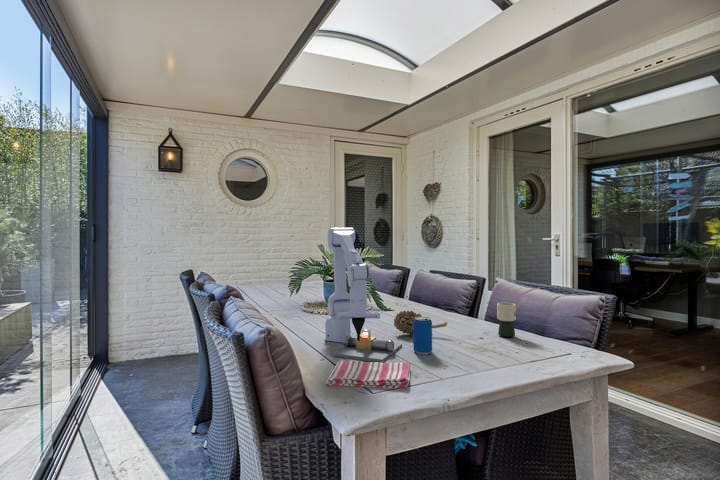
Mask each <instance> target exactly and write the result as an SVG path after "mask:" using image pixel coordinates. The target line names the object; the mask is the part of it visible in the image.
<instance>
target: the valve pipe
mask: <svg viewBox="0 0 720 480" xmlns="http://www.w3.org/2000/svg"><path fill="white" fill-rule="evenodd" d="M351 336H352V335H351ZM351 336H347V337H346V338H345V340H344V344H343V345H344V347H345V346H346V347H349V346H351V347H356V349H360V350H369V351H371V350H373V349H377V350H385V351H387V352H391V351H393V350H394V343H395V342H394V341H393V340H392V339H388V340H379V339H377V337H375V336H371V337H370V338H369V342H368V345H360V341H357V337H355V338H352V337H353V336H352V337H351Z"/></svg>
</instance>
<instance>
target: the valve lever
mask: <svg viewBox="0 0 720 480" xmlns="http://www.w3.org/2000/svg"><path fill="white" fill-rule="evenodd" d="M371 332H372V330H371V329H370V328H362V330H361V333H360V345H368V342H369V338H370V337H372V336H371V335H372V333H371Z"/></svg>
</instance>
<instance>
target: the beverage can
mask: <svg viewBox="0 0 720 480" xmlns="http://www.w3.org/2000/svg"><path fill="white" fill-rule="evenodd" d="M431 319H432V318H431V317H429V316H422V317H415V320H414V321H413V334H412V335H413V351H414V352H415V353H416V354H418V355H428V354H430V353H431V352H433V328H432V325H433V321H432V320H431Z"/></svg>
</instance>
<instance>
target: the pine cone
mask: <svg viewBox="0 0 720 480" xmlns="http://www.w3.org/2000/svg"><path fill="white" fill-rule="evenodd" d="M415 317H423V315H422V314H421V313H416V312H415V311H413V310H403V311H399V312H398V313H396V315H395V317H394V319H393V325H394V327H395V329H396V330H399V332H402V334H407V335H410V336H412V335H413V321H414V320H415ZM448 324H449V322H447V321H444V322H443V323H440V324H432V329H437V328H438V329H439V328H444V327H447V325H448Z"/></svg>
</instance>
